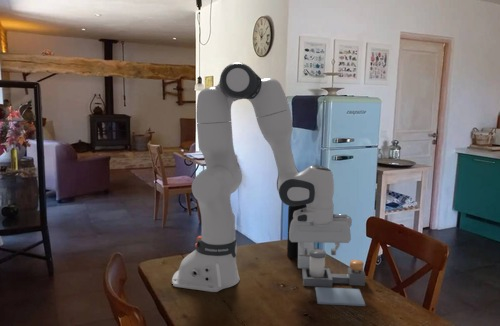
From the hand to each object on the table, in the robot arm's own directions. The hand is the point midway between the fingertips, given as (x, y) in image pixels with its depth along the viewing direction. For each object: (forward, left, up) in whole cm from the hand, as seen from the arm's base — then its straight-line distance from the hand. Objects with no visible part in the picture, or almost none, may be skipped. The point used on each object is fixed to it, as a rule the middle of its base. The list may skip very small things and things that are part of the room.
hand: (319, 254), depth 140 cm
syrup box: (-4, +12, -9) cm, 16 cm away
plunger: (+12, 0, -9) cm, 15 cm away
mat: (+5, -12, -9) cm, 16 cm away
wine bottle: (-7, +22, -9) cm, 25 cm away
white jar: (-1, 0, -9) cm, 9 cm away
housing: (+5, 0, -9) cm, 10 cm away
